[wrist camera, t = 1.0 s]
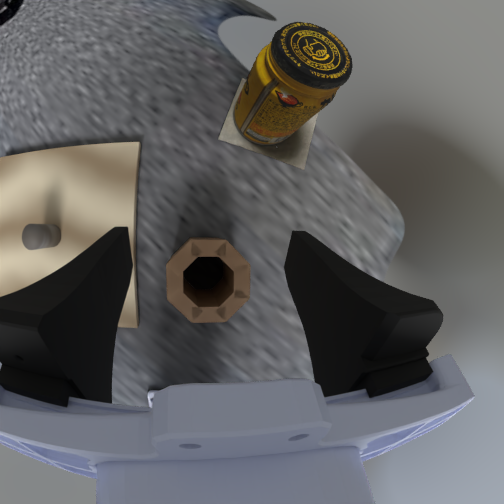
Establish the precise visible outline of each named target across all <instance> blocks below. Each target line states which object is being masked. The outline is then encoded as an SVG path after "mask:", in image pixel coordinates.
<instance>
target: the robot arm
mask: <svg viewBox="0 0 504 504" xmlns="http://www.w3.org/2000/svg"><path fill="white" fill-rule="evenodd" d="M132 270H133V260H132V254H131V246H130V239H129V231H128V227H114V228H112V229H111V230H109V231H108V232H107V233H106V234H104V235H103V236H102V237H101V238H99V239H98V240H97V241H96V242H94V243H93V244H92V245H91V246H90V247H88V248H87V249H86V250H84V251H83V252H82V253H80V254H79V255H78V256H77V257H75V258H74V259H73V260H71V261H70V262H68V263H67V264H66V265H64V266H63V267H61V268H59V269H58V270H56V271H55V272H53V273H51V274H50V275H48V276H46V277H44V278H42V279H41V280H39V281H37V282H35V283H33V284H31V285H29V286H27V287H25V288H22V289H20V290H18V291H15V292H13V293H10V294H7V295H4V296H2V297H0V362H1V363H2V367H1V369H0V443H1V444H2V445H5V446H7V447H9V448H11V449H13V450H15V451H17V452H20V453H22V454H24V455H27V456H29V457H32V458H34V459H36V460H39V461H41V462H44V463H47V464H49V465H52V466H55V467H58V468H61V469H64V470H67V471H70V472H73V473H76V474H80V475H83V476H87V477H91V478H94V479H97V481H96V504H375V501H374V497H373V494H372V491H371V488H370V485H369V481H368V478H367V475H366V472H365V469H364V466H363V463H362V462H363V461H366V460H368V459H371V458H373V457H376V456H378V455H380V454H383V453H385V452H388V451H390V450H392V449H394V448H396V447H399V446H401V445H403V444H405V443H407V442H409V441H411V440H413V439H415V438H417V437H419V436H421V435H423V434H425V433H427V432H429V431H431V430H433V429H434V428H436V427H438V426H440V425H441V424H443V423H444V422H445V421H447V420H448V419H449V418H451V417H452V416H453V415H455V414H456V413H457V412H458V411H460V410H461V409H462V408H463V407H465V406H466V405H467V404H468V403H469V402H470V401H472V400H473V399H474V397H475V396H474V394H473V392H472V390H471V388H470V386H469V384H468V383H467V381H466V379H465V377H464V376H463V374H462V372H461V370H460V369H459V367H458V365H457V364H456V362H455V360H454V359H453V357H452V355H451V354H448V355H445V356H442V357H440V358H437V359H435V360H433V361H431V362H430V363H428V361H427V359H426V357H427V356H428V355H429V353H428V351H427V349H426V346H427V345H428V344H429V343H430V341H431V340H432V338H433V337H434V336H435V335H436V333H437V332H438V330H439V329H440V327H441V324H442V322H443V314H442V312H441V310H440V309H439V308H438V306H437V305H436V304H435V303H434V301H433V300H429V299H426V298H423V297H420V296H416V295H413V294H410V293H407V292H405V291H402V290H399V289H397V288H395V287H392V286H390V285H388V284H386V283H384V282H382V281H380V280H378V279H376V278H374V277H372V276H370V275H368V274H367V273H365V272H363V271H361V270H360V269H358V268H356V267H355V266H353V265H352V264H350V263H349V262H347V261H346V260H345V259H343V258H342V257H340V256H339V255H337V254H336V253H335V252H333V251H332V250H331V249H329V248H328V247H327V246H325V245H324V244H323V243H322V242H320V241H319V240H318V239H316V238H315V237H313V236H312V235H311V234H309V233H307V232H306V231H292V235H291V239H290V244H289V248H288V253H287V257H286V261H285V266H284V270H285V274H286V279H287V283H288V287H289V290H290V293H291V295H292V298H293V301H294V303H295V306H296V308H297V311H298V314H299V316H300V319H301V322H302V324H303V328H304V331H305V334H306V339H307V343H308V347H309V352H310V357H311V362H312V367H313V373H314V379H315V382H313V381H311V380H309V379H300V378H287V379H277V380H266V381H253V382H234V383H189V384H179V385H170V386H168V387H166V388H164V389H162V390H150V391H149V392H148V395H147V396H148V402H149V407H138V406H128V405H119V404H112V368H113V356H114V346H115V339H116V332H117V327H118V323H119V319H120V316H121V312H122V309H123V306H124V302H125V299H126V296H127V292H128V289H129V286H130V281H131V276H132ZM151 398H153V400H152V399H151Z"/></svg>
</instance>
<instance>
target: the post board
mask: <svg viewBox="0 0 504 504" xmlns="http://www.w3.org/2000/svg"><path fill="white" fill-rule="evenodd" d="M140 150H141V144H140V142H122V143H104V144H91V145H80V146H70V147H62V148H54V149H46V150H40V151H33V152H27V153H21V154H16V155H11V156H6V157H1V158H0V297H2V296H4V295H7V294H10V293H13V292H15V291H18V290H20V289H22V288H25V287H27V286H29V285H31V284H33V283H35V282H37V281H39V280H41V279H42V278H44V277H46V276H48V275H50V274H51V273H53V272H55V271H56V270H58V269H59V268H61V267H63V266H64V265H66V264H67V263H68V262H70V261H71V260H73V259H74V258H75V257H77V256H78V255H79V254H80V253H82V252H83V251H84V250H86V249H87V248H88V247H90V246H91V245H92V244H93V243H94V242H96V241H97V240H98V239H99V238H101V237H102V236H103V235H104V234H106V233H107V232H108V231H109V230H111V229H112V228H114V227H128V231H129V239H130V246H131V254H132V260H133V270H132V276H131V281H130V286H129V289H128V292H127V296H126V299H125V302H124V306H123V309H122V312H121V316H120V319H119V323H118V327H127V328H138V326H139V316H138V302H137V283H136V205H137V186H138V172H139V160H140Z"/></svg>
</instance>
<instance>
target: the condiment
mask: <svg viewBox="0 0 504 504" xmlns="http://www.w3.org/2000/svg"><path fill="white" fill-rule="evenodd" d="M351 71H352V58H351V56H350V54H349V52H348V50H347V48H346V47H345V46H344V44H343V43H342V42H341V41H340V40H339V39H338V38H337V37H336V36H335V35H333V34H332V33H331V32H329V31H328V30H326V29H324V28H322V27H319V26H317V25H314V24H311V23H303V22H294V23H290V24H288V25H286V26H284V27H282V28H281V29H280V30H278V31H277V32H276V33H275V35H274V37H273V39H272V41H271V42H270V44H268V45H267V46H265V47H264V48H263V49H262V50H261V52H260V53H259V54H258V56H257V57H256V61H255V62H254V64H253V67H252V69H251V71H250V73H249V75H248V77H247V80H246V79H244V78H242V80H241V82H240V85H239V87H238V90H237V92H236V95H235V97H234V99H233V102H232V104H231V107H230V110H229V112H228V115H227V117H226V120H225V122H224V125H223V128H222V130H221V133H220V136H219V138H218V139H219V140H222V141H225V142H228V143H231V144H234V145H237V146H240V147H243V148H245V149H248V150H251V151H254V152H257V153H260V154H263V155H266V156H269V157H272V158H274V159H276V160H279V161H282V162H284V163H287V164H290V165H293V166H295V167H298V168H300V169H302V170H304V168H305V164H306V159H307V155H308V151H309V147H310V143H311V139H312V135H313V134H312V133H313V131H314V128H315V124H316V119H317V116H318V112H319V111H320V110H322V109H323V108H324V107H325V106H327V105H328V103H330V102H331V101H332V100H333V98H334V97H335V94H336V92H337V90H338V89H339V87H340V86H341V85H343V84H344V83H345V82H346V81H347V80H348V79H349V77H350V74H351ZM276 146H277V147H278V148H276Z"/></svg>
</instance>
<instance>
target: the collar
mask: <svg viewBox="0 0 504 504" xmlns="http://www.w3.org/2000/svg"><path fill="white" fill-rule="evenodd" d="M197 257H219V258H220V259H221V260H222V261H223V278H222V279H221V280H220V281H219V282H218V283H217V284H216V285H215V286H214V287H213V288H212V289H195V288H194V287H193V286H192V285H191V284H190V283H189V282H188V281H187V280H186V279H185V278H184V270H185V269H186V268H187V267H188V266H189V265H190V264H191V263H192V262H193V261H194V260H195V259H196V258H197ZM166 281H167V300H168V301H169V302H170V303H171V304H172V305H173V306H174V307H176V308H177V309H178V310H179V311H180V312H181V313H182V314H183V315H184V316H185V317H186V318H187V319H189V320H190V321H191V322H192V323H207V322H226V321H227V320H228V319H229V318H230V317H231V316H232V315H233V314H234V313H235V312H236V311H238V310H239V309H240V308H241V307H242V306H243V305H244V304H245V303H246V302H247V301H248V300H249V299H250V264H249V263H248V262H247V261H246V260H245V259H244V258H243V257H242V256H241V254H240V253H239V252H238V251H237V250H236V249H235V248H234V247H233V246H232V245H231V244H230V243H229V242H228V241H227V240H225V239H220V238H196V237H191V238H189V239H188V240H187V241H186V242H185V243H184V244H183V245H182V246H181V247H180V248H179V249H178V250H177V251H176V252H175V253H174V254H173V255H172V256H171V258H170V260H169V261H168V263H167V264H166Z"/></svg>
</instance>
